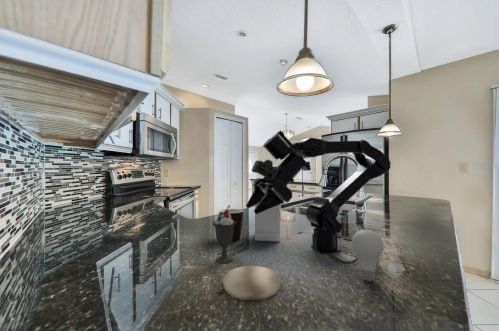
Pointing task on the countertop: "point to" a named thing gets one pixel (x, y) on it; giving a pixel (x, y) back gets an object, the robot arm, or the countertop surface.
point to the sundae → (224, 234)
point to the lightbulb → (367, 252)
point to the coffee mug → (236, 216)
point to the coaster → (251, 282)
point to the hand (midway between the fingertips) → (250, 209)
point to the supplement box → (268, 224)
